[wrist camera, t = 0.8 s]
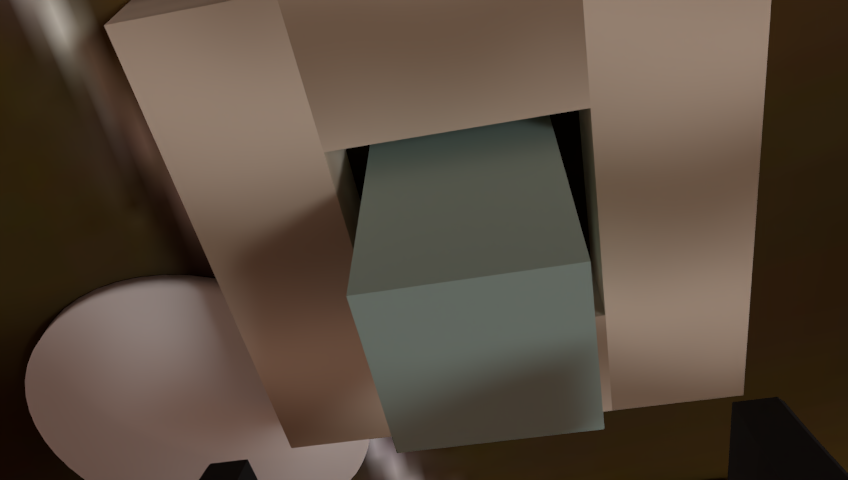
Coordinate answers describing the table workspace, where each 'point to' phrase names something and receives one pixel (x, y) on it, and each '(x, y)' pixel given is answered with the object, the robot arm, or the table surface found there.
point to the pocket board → (448, 111)
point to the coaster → (163, 389)
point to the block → (475, 288)
